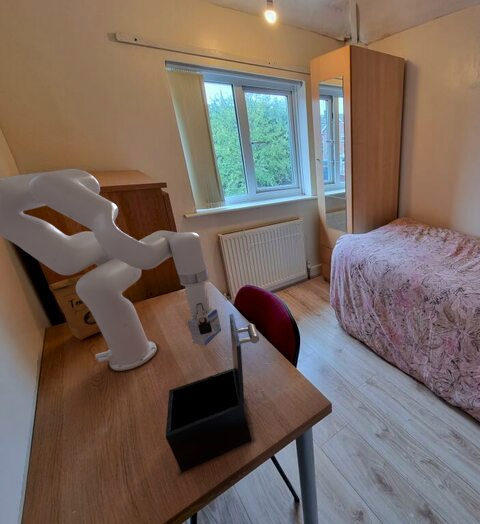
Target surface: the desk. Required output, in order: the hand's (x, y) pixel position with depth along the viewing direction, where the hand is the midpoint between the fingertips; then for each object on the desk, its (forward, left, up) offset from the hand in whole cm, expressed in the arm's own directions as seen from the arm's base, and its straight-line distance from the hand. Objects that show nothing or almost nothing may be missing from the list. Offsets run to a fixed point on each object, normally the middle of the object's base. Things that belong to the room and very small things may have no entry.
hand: (205, 324), depth 89 cm
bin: (-1, -30, -11) cm, 32 cm away
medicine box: (0, 0, -5) cm, 5 cm away
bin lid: (+7, -30, +8) cm, 32 cm away
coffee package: (-38, +35, -12) cm, 53 cm away
